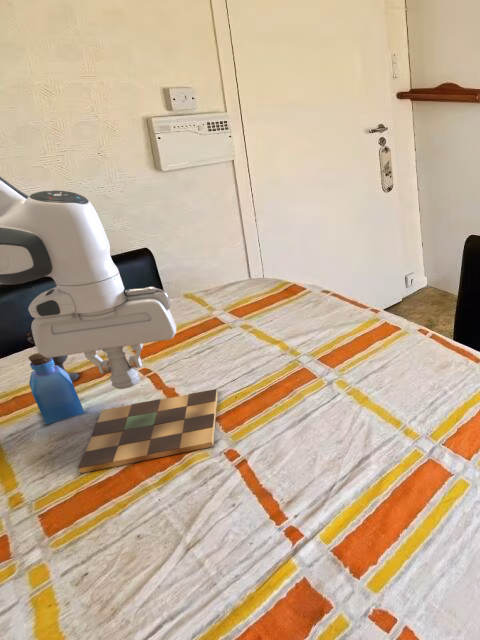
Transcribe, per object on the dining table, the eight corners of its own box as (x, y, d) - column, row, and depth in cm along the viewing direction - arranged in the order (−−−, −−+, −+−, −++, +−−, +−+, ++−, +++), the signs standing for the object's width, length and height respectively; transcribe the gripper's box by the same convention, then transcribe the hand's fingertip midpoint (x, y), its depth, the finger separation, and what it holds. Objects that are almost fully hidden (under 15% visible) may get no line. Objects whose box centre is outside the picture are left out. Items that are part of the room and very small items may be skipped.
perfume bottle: (46, 424, 115) (19, 366, 109) (41, 411, 119) (16, 355, 113) (84, 412, 118) (61, 356, 112) (79, 400, 122) (56, 345, 117)
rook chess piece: (146, 380, 110) (131, 339, 106) (121, 392, 106) (105, 349, 103) (132, 375, 112) (116, 334, 108) (107, 386, 108) (90, 344, 105)
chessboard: (80, 473, 101) (78, 468, 100) (103, 414, 117) (101, 409, 117) (213, 446, 107) (211, 441, 106) (217, 393, 123) (216, 389, 123)
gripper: (166, 279, 107) (188, 351, 114) (27, 296, 101) (59, 372, 108) (162, 290, 102) (185, 366, 108) (15, 310, 96) (49, 388, 102)
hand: (121, 369), depth 108 cm, fingers closed on rook chess piece, 3 cm apart
